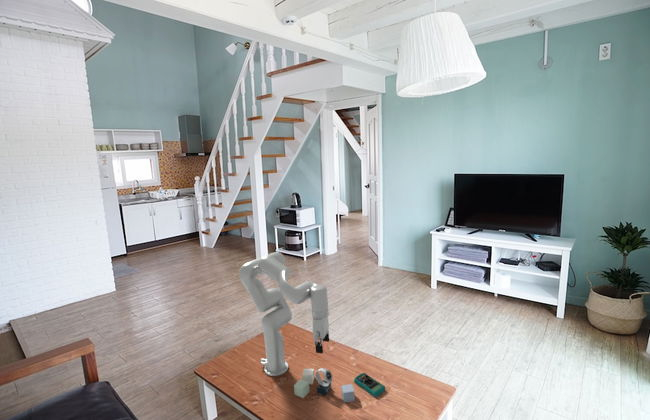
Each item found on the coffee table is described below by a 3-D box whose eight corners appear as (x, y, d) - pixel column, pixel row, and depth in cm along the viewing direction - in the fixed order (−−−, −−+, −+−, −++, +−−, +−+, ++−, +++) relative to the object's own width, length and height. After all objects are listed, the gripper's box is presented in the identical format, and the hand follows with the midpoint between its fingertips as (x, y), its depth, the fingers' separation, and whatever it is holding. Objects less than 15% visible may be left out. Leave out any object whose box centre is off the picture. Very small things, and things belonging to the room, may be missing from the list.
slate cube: (343, 402, 154) (343, 392, 153) (341, 395, 159) (341, 385, 158) (354, 401, 155) (354, 391, 154) (352, 393, 160) (352, 383, 159)
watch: (329, 397, 158) (328, 375, 156) (314, 391, 162) (313, 371, 160) (334, 389, 163) (333, 368, 161) (320, 384, 167) (319, 364, 165)
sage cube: (294, 394, 161) (294, 385, 160) (301, 388, 165) (300, 379, 164) (303, 398, 158) (302, 388, 158) (309, 391, 163) (308, 382, 162)
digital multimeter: (364, 376, 172) (363, 370, 172) (386, 391, 160) (385, 385, 160) (353, 382, 168) (352, 377, 167) (375, 398, 156) (374, 393, 156)
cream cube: (302, 384, 168) (302, 374, 167) (304, 377, 173) (304, 368, 172) (312, 384, 167) (312, 375, 167) (314, 377, 172) (313, 368, 172)
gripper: (318, 303, 165) (320, 336, 168) (305, 320, 149) (308, 356, 151) (333, 304, 163) (335, 337, 165) (322, 322, 146) (325, 358, 149)
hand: (322, 346), depth 158 cm, fingers open, 9 cm apart
